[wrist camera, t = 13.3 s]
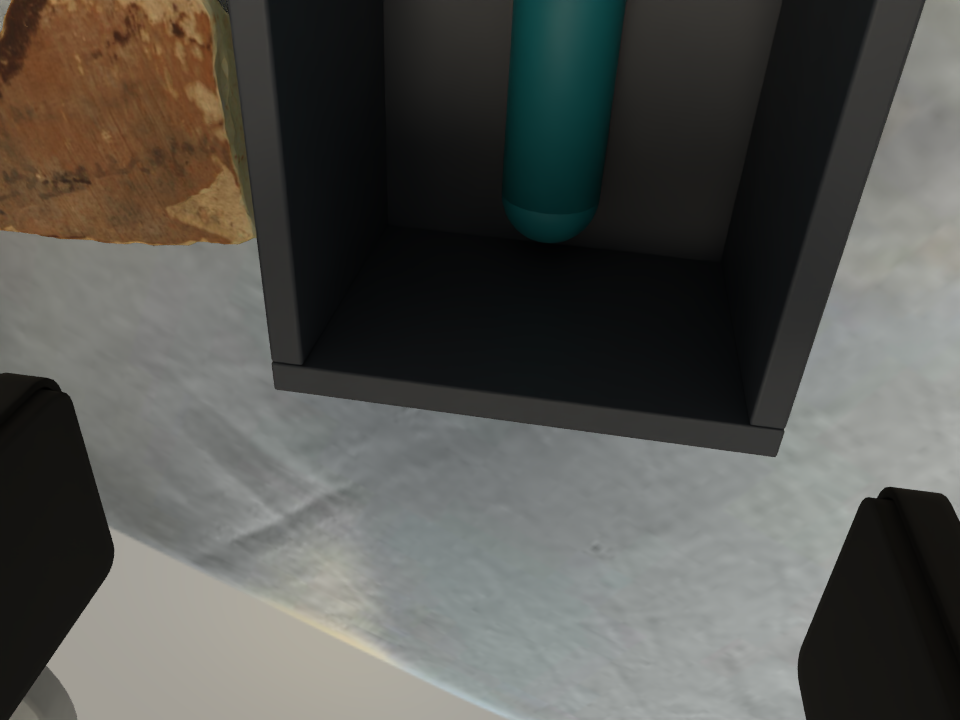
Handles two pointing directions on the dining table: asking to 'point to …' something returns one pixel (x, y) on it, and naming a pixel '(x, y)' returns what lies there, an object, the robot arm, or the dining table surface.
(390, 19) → the bin
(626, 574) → the dining table surface
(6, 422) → the robot arm
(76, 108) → the shard
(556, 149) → the rod
